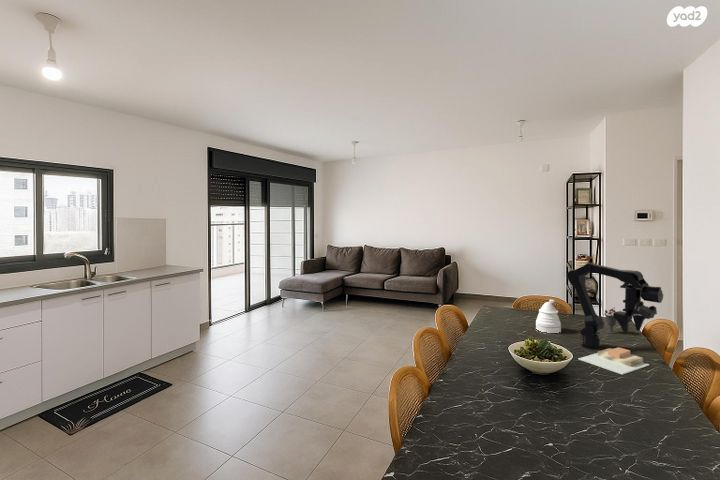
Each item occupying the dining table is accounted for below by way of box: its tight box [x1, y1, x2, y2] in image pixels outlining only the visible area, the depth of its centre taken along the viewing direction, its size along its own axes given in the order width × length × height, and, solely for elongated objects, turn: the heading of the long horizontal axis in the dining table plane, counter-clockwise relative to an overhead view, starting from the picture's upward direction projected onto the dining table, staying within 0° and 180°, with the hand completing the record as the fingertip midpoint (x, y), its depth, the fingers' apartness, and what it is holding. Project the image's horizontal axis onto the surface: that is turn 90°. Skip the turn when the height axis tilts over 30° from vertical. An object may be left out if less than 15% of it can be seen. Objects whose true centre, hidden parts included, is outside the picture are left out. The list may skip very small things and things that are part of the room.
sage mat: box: [577, 352, 650, 375], centre depth 161 cm, size 19×19×1 cm
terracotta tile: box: [608, 347, 631, 358], centre depth 163 cm, size 5×8×2 cm, turn 114°
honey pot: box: [535, 299, 562, 334], centre depth 208 cm, size 13×13×18 cm
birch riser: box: [597, 347, 644, 367], centre depth 163 cm, size 14×9×2 cm, turn 24°
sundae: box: [603, 308, 617, 335], centre depth 200 cm, size 7×7×15 cm
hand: (631, 332), depth 166 cm, fingers open, 9 cm apart
